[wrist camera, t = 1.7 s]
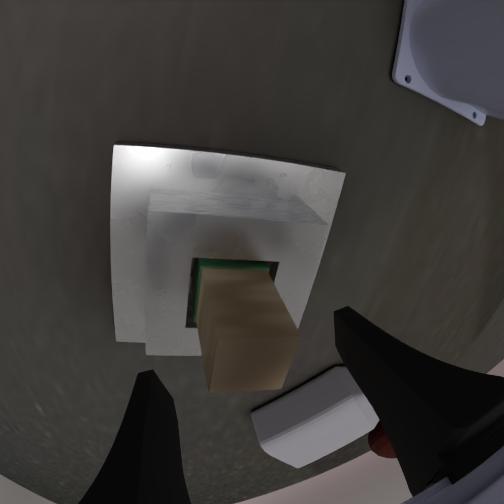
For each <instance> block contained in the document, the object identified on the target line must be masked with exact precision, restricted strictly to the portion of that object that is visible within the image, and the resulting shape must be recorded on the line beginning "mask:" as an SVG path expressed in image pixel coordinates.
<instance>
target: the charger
mask: <svg viewBox="0 0 504 504" xmlns="http://www.w3.org/2000/svg"><path fill="white" fill-rule="evenodd" d="M251 418H252V421H253V424H254V428H255V431H256V434H257V437H258V441H259V444H260V446H261V447H262V449H263V450H264V451H265V452H266V453H268V454H269V455H271V456H273V457H275V458H277V459H279V460H281V461H283V462H285V463H287V464H289V465H292V466H294V467H296V468H300V467H302V466H304V465H307V464H309V463H311V462H313V461H315V460H317V459H319V458H321V457H323V456H325V455H327V454H329V453H331V452H333V451H335V450H337V449H339V448H341V447H343V446H345V445H346V444H348V443H350V442H352V441H354V440H356V439H357V438H359V437H361V436H363V435H364V434H366V433H368V432H369V431H371V430H373V429H374V428H375V426H376V425H377V423H378V421H379V418H378V416H377V415H376V413H375V411H374V409H373V407H372V406H371V404H370V403H369V401H368V400H367V398H366V397H365V395H364V394H363V392H362V391H361V389H360V388H359V386H358V385H357V383H356V382H355V380H354V379H353V377H352V376H351V374H350V372H349V371H348V369H347V368H346V367H336V366H335V367H334V368H332V369H330V370H329V371H327V372H325V373H324V374H322V375H320V376H318V377H317V378H315V379H313V380H312V381H310V382H308V383H306V384H304V385H303V386H301V387H299V388H297V389H295V390H294V391H292V392H290V393H288V394H286V395H284V396H283V397H281V398H279V399H277V400H275V401H273V402H271V403H269V404H267V405H265V406H263V407H261V408H259V409H257V410H255V411H253V412H251Z"/></svg>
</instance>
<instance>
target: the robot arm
mask: <svg viewBox="0 0 504 504" xmlns="http://www.w3.org/2000/svg"><path fill="white" fill-rule="evenodd" d="M405 76H407V82H406V81H405ZM392 78H393V80H394V82H395V83H397V84H399V85H401V86H404V87H406V88H408V89H410V90H412V91H414V92H417V93H419V94H421V95H423V96H425V97H427V98H429V99H431V100H433V101H435V102H437V103H439V104H441V105H443V106H445V107H447V108H448V109H450V110H452V111H454V112H456V113H458V114H459V115H461V116H463V117H465V118H466V119H468V120H470V121H472V122H473V123H475V124H477V125H480V126H482V125H483V124H484V122H485V118H486V115H489V116H492V117H496V118H499V119H502V120H504V0H405V1H404V8H403V14H402V21H401V27H400V33H399V39H398V45H397V50H396V56H395V61H394V66H393V71H392ZM334 326H335V345H336V348H337V350H338V352H339V354H340V356H341V358H342V360H343V362H344V364H345V366H346V368H347V369H348V371H349V372H350V374H351V376H352V377H353V379H354V380H355V382H356V383H357V385H358V386H359V388H360V389H361V391H362V392H363V394H364V395H365V397H366V398H367V400H368V401H369V403H370V404H371V406H372V407H373V409H374V411H375V413H376V414H377V416H378V418H379V420H380V422H381V424H382V426H383V428H384V430H385V432H386V434H387V436H388V439H389V441H390V443H391V445H392V447H393V450H394V452H395V454H396V457H397V459H398V461H399V464H400V466H401V468H402V471H403V473H404V476H405V479H406V482H407V484H408V487H409V490H410V492H411V494H412V496H413V497H412V498H410V499H409V500H407V501H405V502H403V503H401V504H504V377H500V376H494V375H488V374H483V373H478V372H474V371H470V370H466V369H463V368H460V367H457V366H454V365H451V364H448V363H445V362H442V361H440V360H437V359H435V358H433V357H430V356H428V355H426V354H424V353H422V352H420V351H418V350H416V349H414V348H412V347H410V346H408V345H406V344H405V343H403V342H401V341H399V340H398V339H396V338H394V337H393V336H391V335H390V334H388V333H386V332H385V331H383V330H382V329H380V328H379V327H377V326H376V325H374V324H373V323H371V322H370V321H368V320H367V319H366V318H364V317H363V316H361V315H360V314H359V313H357V312H356V311H355V310H353V309H352V308H350V307H349V306H347V307H344V308H342V309H339V310H336V311H334ZM78 504H191V502H190V499H189V495H188V491H187V487H186V483H185V479H184V474H183V468H182V459H181V449H180V439H179V428H178V420H177V415H176V410H175V405H174V401H173V398H172V396H171V395H170V393H169V392H168V391H167V389H166V388H165V386H164V385H163V384H162V382H161V381H160V379H159V378H158V376H157V375H156V373H155V372H154V370H149V371H145V372H141V373H138V375H137V378H136V381H135V385H134V388H133V391H132V394H131V397H130V400H129V403H128V406H127V409H126V412H125V415H124V418H123V421H122V423H121V426H120V428H119V431H118V433H117V436H116V439H115V441H114V443H113V446H112V448H111V450H110V452H109V454H108V456H107V458H106V460H105V462H104V464H103V466H102V468H101V470H100V471H99V473H98V475H97V477H96V478H95V480H94V482H93V483H92V485H91V486H90V488H89V489H88V491H87V492H86V494H85V495H84V497H83V498H82V499H81V501H80V502H79V503H78Z"/></svg>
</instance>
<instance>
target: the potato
mask: <svg viewBox="0 0 504 504" xmlns="http://www.w3.org/2000/svg"><path fill="white" fill-rule="evenodd" d="M368 443H369V446H370V448H371V450H372V451H373V452H375V453H376V454H377V455H378V456H382V457H385V458H397V457H396V454H395V452H394V450H393V447H392V445H391V443H390V441H389V439H388V436H387V434H386V432H385V430H384V428H383V426H382V424H381V422H380V420H379V421H378V423H377V425H376V426H375V428H374V429H373V430H371V431H370V432H369V435H368Z"/></svg>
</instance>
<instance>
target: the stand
mask: <svg viewBox="0 0 504 504" xmlns="http://www.w3.org/2000/svg"><path fill="white" fill-rule="evenodd" d="M345 174H346V173H345V172H343V171H341V170H340V169H338V168H333V167H328V166H323V165H317V164H312V163H306V162H301V161H295V160H289V159H282V158H276V157H270V156H263V155H256V154H249V153H241V152H233V151H225V150H217V149H208V148H198V147H188V146H177V145H165V144H151V143H136V142H116V143H115V144H114V149H113V163H112V181H111V213H110V246H111V278H112V296H113V311H114V323H115V333H116V341H120V342H142V343H146V355H173V356H202V353H201V347H200V341H199V335H198V329H197V323H196V322H194V319H193V313H192V311H193V297H192V290H191V285H192V275H193V266H194V258H212V259H233V260H255V261H266V263H267V265H268V267H269V275H270V277H271V279H272V281H273V283H274V285H275V287H276V289H277V291H278V292H279V294H280V296H281V298H282V300H283V302H284V304H285V306H286V308H287V310H288V312H289V314H290V316H291V317H292V319H293V321H294V323H295V325H296V327H297V329H298V327H299V324H300V321H301V318H302V315H303V313H304V310H305V307H306V304H307V301H308V298H309V295H310V292H311V289H312V286H313V283H314V279H315V276H316V273H317V270H318V267H319V264H320V261H321V257H322V254H323V251H324V248H325V244H326V241H327V238H328V234H329V231H330V228H331V224H332V221H333V217H334V214H335V211H336V207H337V204H338V200H339V196H340V193H341V189H342V186H343V182H344V178H345Z"/></svg>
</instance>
